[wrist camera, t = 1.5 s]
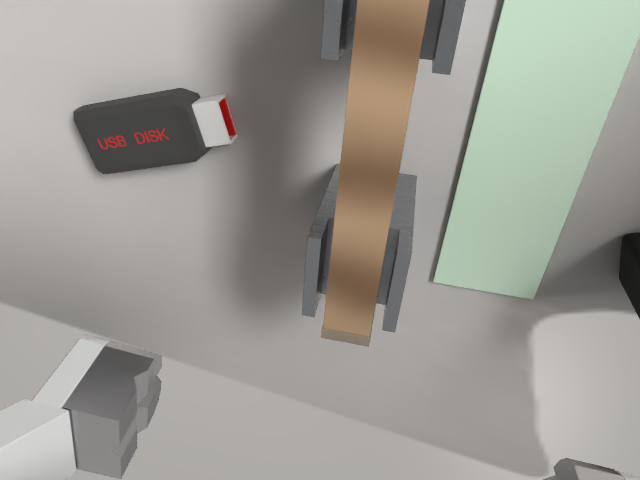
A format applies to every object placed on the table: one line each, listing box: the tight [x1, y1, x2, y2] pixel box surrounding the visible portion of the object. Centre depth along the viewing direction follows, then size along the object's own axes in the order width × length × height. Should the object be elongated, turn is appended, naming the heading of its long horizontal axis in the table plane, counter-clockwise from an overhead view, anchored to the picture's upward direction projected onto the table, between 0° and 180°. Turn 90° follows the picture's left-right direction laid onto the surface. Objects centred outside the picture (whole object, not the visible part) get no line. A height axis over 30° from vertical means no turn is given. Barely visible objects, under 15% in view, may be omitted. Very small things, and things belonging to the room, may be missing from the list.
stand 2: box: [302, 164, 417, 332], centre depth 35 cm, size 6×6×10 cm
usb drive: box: [74, 88, 238, 174], centre depth 38 cm, size 5×12×3 cm, turn 102°
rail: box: [321, 0, 430, 347], centre depth 27 cm, size 24×3×3 cm, turn 175°
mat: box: [433, 0, 640, 300], centre depth 33 cm, size 8×28×1 cm, turn 175°
